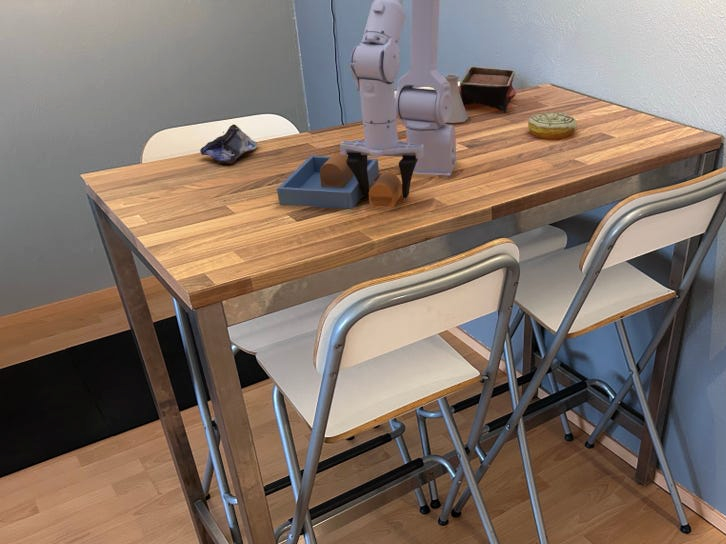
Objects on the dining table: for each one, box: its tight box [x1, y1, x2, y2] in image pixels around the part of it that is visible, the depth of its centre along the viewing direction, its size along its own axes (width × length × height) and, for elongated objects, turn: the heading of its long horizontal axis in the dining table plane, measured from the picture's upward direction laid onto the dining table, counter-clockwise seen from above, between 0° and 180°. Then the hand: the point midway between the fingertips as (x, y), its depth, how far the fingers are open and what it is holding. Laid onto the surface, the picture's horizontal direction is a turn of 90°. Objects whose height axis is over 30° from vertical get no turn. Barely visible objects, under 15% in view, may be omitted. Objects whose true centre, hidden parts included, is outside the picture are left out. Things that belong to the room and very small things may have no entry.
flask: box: [444, 73, 469, 124], centre depth 172 cm, size 7×7×10 cm
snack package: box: [199, 123, 259, 165], centre depth 153 cm, size 12×6×12 cm
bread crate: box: [276, 155, 380, 210], centre depth 137 cm, size 14×17×4 cm
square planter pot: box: [458, 66, 517, 113], centre depth 182 cm, size 14×18×10 cm
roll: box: [320, 152, 353, 188], centre depth 140 cm, size 4×6×5 cm
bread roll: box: [368, 171, 402, 208], centre depth 133 cm, size 4×6×5 cm
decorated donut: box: [527, 112, 578, 140], centre depth 164 cm, size 10×11×4 cm
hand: (385, 194), depth 133 cm, fingers open, 7 cm apart
